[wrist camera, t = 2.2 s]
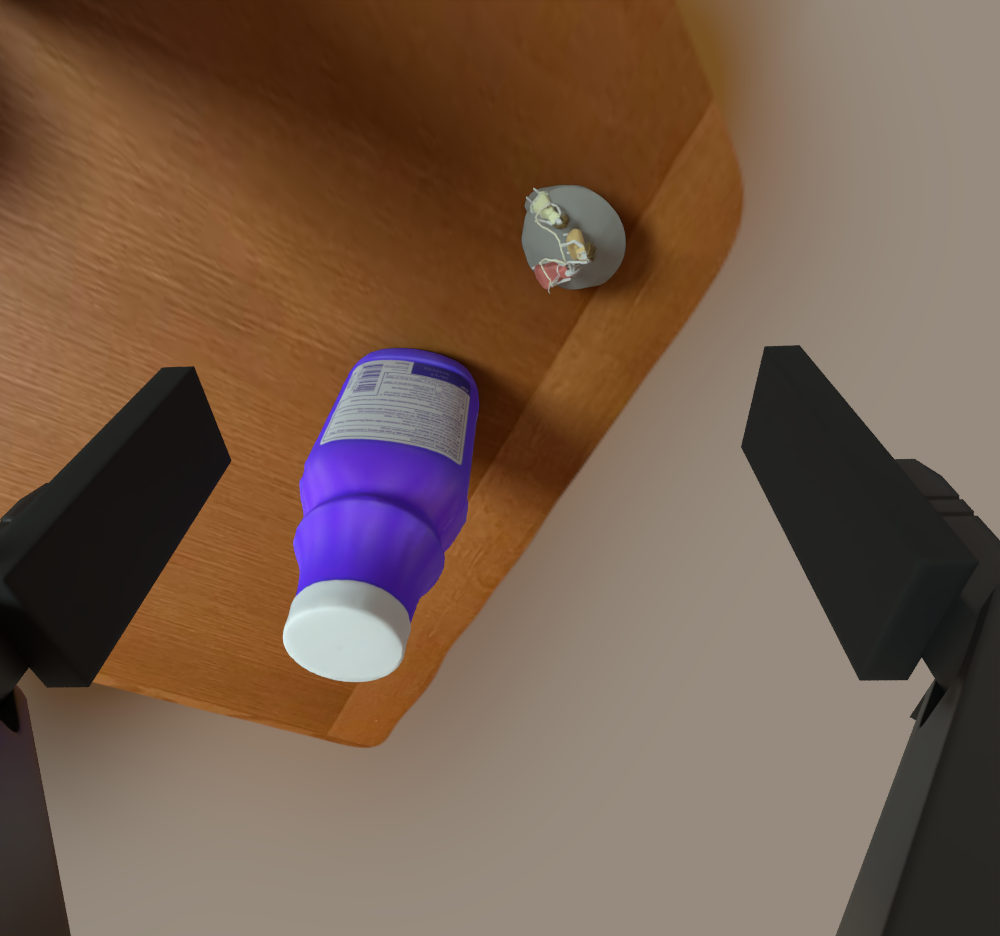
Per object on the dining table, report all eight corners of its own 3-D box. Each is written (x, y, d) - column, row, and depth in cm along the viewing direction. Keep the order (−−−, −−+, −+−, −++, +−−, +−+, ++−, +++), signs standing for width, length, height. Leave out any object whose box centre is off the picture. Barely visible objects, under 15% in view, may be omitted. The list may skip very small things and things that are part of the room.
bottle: (350, 421, 35) (244, 688, 21) (349, 331, 32) (223, 580, 18) (474, 437, 36) (448, 708, 22) (486, 350, 32) (465, 607, 19)
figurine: (639, 233, 29) (664, 279, 24) (569, 297, 31) (579, 351, 26) (564, 145, 26) (575, 176, 22) (493, 221, 28) (489, 264, 24)
